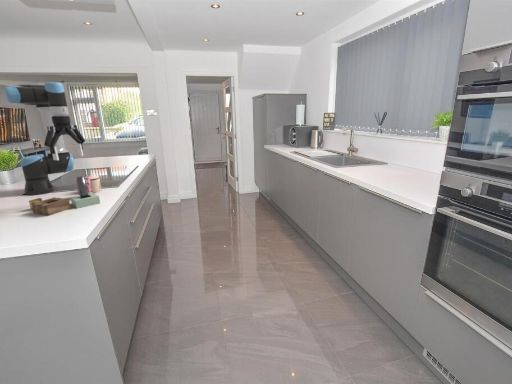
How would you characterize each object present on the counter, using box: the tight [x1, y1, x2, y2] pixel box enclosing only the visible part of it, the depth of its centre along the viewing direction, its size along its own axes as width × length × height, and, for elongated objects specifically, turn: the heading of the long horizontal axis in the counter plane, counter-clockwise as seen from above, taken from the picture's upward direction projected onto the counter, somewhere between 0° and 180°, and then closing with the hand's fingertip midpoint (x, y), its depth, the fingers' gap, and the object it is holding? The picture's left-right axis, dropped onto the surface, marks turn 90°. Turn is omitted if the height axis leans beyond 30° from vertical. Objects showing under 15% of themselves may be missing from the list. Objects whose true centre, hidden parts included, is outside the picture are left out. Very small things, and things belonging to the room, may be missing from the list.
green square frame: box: [70, 193, 101, 209], centre depth 147 cm, size 11×11×4 cm
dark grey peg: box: [76, 175, 89, 199], centre depth 146 cm, size 4×4×15 cm
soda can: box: [75, 175, 93, 195], centre depth 159 cm, size 7×7×12 cm
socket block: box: [32, 196, 72, 216], centre depth 137 cm, size 11×11×5 cm
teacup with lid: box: [87, 172, 102, 194], centre depth 172 cm, size 12×9×12 cm
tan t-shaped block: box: [28, 197, 49, 210], centre depth 139 cm, size 9×5×4 cm, turn 71°
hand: (69, 157), depth 141 cm, fingers open, 13 cm apart
